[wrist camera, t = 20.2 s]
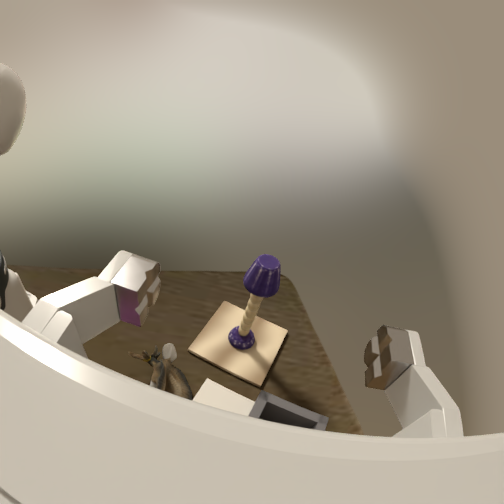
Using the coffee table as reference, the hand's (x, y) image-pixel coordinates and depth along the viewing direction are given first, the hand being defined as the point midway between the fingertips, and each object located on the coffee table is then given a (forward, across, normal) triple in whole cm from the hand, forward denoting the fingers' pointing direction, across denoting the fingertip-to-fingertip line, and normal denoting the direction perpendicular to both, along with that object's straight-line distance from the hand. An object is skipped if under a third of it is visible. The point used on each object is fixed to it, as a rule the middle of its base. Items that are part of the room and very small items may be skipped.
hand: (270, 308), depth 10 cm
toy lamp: (+22, 0, +32) cm, 38 cm away
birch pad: (+22, 0, +32) cm, 38 cm away
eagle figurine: (+10, +8, +32) cm, 35 cm away
